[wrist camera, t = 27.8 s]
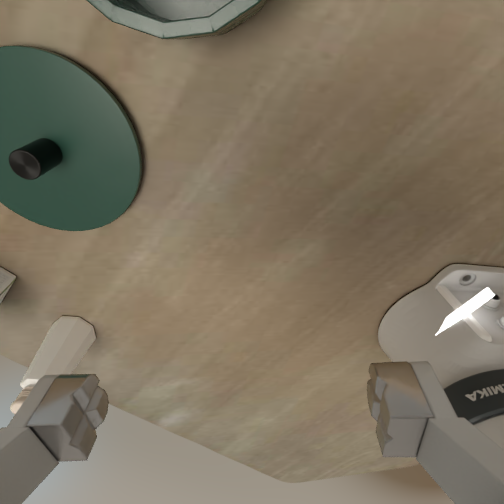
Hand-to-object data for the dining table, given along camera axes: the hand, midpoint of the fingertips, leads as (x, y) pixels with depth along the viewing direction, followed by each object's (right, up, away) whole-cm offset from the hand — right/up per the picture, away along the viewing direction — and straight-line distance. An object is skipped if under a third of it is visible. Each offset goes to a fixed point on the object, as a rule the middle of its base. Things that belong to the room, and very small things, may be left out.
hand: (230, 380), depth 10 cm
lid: (-17, +13, +19) cm, 29 cm away
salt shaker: (-22, -6, +32) cm, 39 cm away
